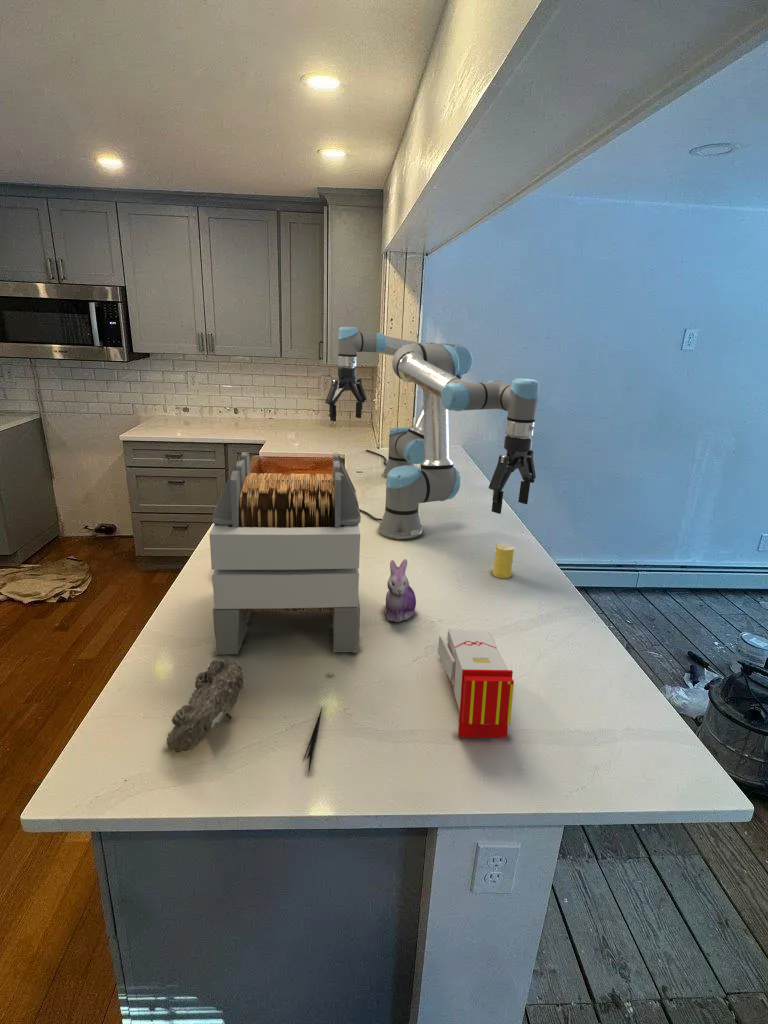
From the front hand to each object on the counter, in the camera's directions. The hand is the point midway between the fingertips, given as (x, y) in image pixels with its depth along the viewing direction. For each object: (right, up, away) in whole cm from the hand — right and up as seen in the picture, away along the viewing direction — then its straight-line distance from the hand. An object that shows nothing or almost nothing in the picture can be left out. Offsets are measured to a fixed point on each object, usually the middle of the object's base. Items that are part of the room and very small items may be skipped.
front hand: (509, 507), depth 165 cm
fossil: (-69, -40, -57) cm, 99 cm away
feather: (-49, -41, -57) cm, 85 cm away
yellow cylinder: (-1, -20, +7) cm, 22 cm away
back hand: (-52, +37, +71) cm, 96 cm away
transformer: (-60, -28, -22) cm, 70 cm away
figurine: (-33, -28, -18) cm, 46 cm away
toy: (-19, -39, -47) cm, 64 cm away
